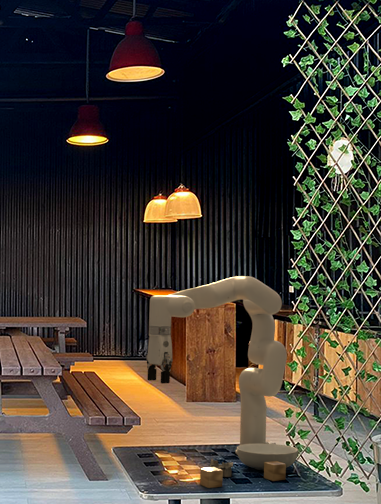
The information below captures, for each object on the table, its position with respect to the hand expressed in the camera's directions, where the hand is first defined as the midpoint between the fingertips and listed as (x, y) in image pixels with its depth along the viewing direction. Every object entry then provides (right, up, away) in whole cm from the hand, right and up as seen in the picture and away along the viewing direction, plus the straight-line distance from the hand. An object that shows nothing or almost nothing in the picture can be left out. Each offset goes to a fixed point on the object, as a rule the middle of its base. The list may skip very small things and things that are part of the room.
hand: (158, 381), depth 290 cm
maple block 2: (+38, -28, -18) cm, 51 cm away
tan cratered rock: (+21, -28, -13) cm, 38 cm away
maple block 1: (+17, -27, -30) cm, 44 cm away
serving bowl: (+37, -29, -3) cm, 47 cm away
